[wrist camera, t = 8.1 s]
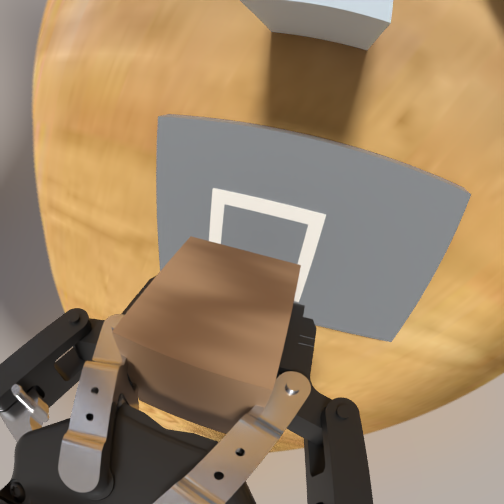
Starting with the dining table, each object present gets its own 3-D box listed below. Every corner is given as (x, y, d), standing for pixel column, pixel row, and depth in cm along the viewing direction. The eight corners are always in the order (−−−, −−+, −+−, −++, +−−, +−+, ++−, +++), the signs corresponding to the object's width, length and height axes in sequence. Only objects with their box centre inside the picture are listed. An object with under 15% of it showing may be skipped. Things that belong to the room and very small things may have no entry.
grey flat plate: (462, 187, 12) (472, 195, 11) (389, 330, 19) (391, 343, 18) (168, 114, 15) (156, 116, 14) (168, 271, 22) (160, 281, 20)
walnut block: (301, 265, 12) (273, 389, 7) (277, 338, 14) (248, 440, 10) (190, 236, 12) (111, 331, 7) (190, 312, 15) (139, 400, 10)
